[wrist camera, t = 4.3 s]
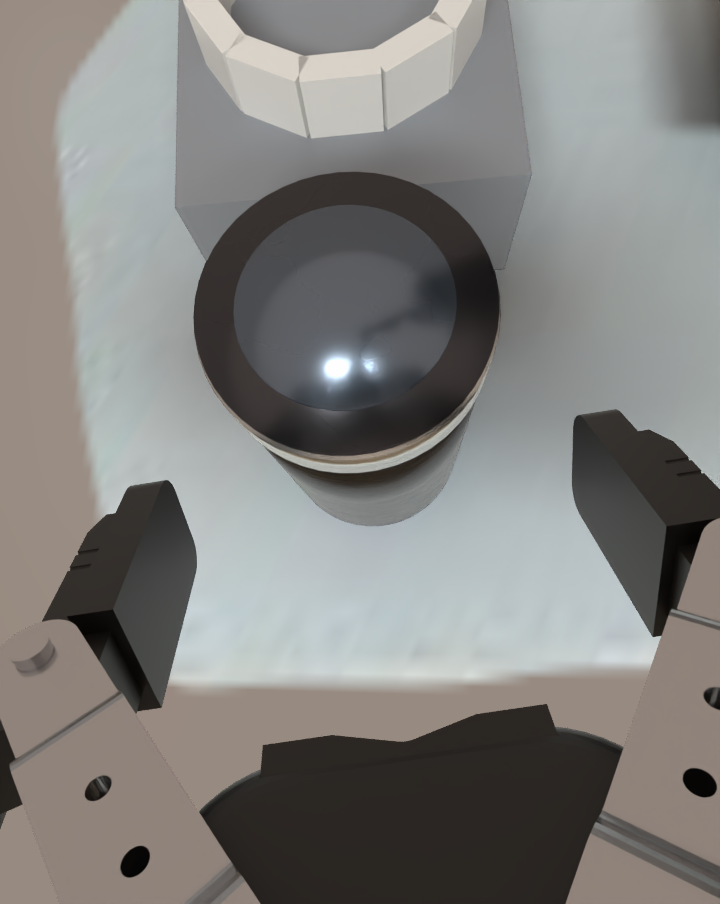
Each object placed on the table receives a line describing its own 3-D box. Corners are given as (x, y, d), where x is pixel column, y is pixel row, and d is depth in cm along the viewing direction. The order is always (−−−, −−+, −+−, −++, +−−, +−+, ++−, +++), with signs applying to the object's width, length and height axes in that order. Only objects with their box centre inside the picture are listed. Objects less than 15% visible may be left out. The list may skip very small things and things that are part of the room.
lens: (449, 358, 21) (485, 153, 12) (464, 521, 20) (520, 443, 10) (287, 371, 22) (191, 182, 12) (292, 532, 20) (187, 466, 11)
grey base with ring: (470, -3, 25) (495, -230, 18) (504, 268, 22) (547, 119, 15) (223, 24, 26) (157, -186, 19) (224, 292, 23) (146, 158, 16)
